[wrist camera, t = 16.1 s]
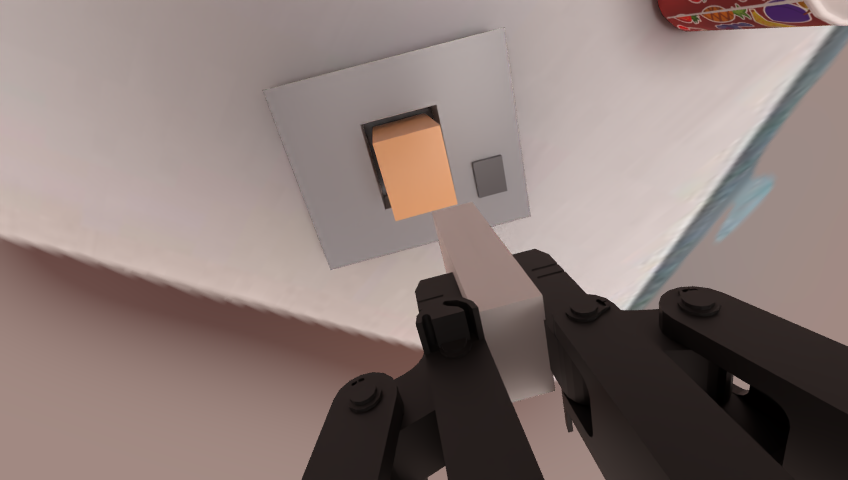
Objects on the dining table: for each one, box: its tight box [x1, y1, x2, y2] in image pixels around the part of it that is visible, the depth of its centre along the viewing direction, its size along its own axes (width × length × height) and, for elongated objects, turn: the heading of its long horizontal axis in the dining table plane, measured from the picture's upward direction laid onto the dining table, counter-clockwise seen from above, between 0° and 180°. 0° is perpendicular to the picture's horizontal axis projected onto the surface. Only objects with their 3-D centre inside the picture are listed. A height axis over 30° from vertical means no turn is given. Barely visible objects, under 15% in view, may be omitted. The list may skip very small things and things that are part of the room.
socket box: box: [263, 27, 531, 270], centre depth 33 cm, size 15×18×4 cm
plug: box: [373, 113, 458, 221], centre depth 31 cm, size 5×4×10 cm
